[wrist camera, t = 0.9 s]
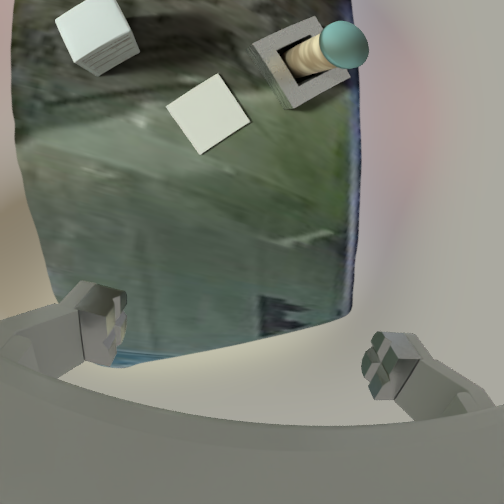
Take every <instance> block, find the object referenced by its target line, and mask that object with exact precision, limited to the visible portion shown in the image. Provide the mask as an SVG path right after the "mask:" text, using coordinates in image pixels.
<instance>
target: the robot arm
mask: <svg viewBox="0 0 504 504" xmlns="http://www.w3.org/2000/svg"><path fill="white" fill-rule="evenodd" d="M126 305H127V294H126V291H123V290H119V289H115V288H111V287H107V286H103V285H100V284H96V283H92V282H88V281H80V282H79V283H78V284H77V285H76V286H75V287H74V288H73V289H72V290H71V291H70V293H69V294H68V295H67V296H66V297H65V298H64V299H63V300H62V301H61V302H60V303H59V304H55V303H54V304H51V305H48V306H45V307H41V308H38V309H35V310H32V311H28V312H26V313H22V314H19V315H16V316H13V317H10V318H6V319H3V320H0V504H504V405H500V406H497V407H496V406H495V404H494V403H493V402H492V400H491V399H490V397H489V396H488V395H487V393H486V392H485V390H484V389H483V388H481V387H480V386H478V385H476V384H475V383H473V382H472V381H470V380H469V379H467V378H465V377H464V376H462V375H461V374H459V373H457V372H456V371H454V370H453V369H451V368H449V367H448V366H446V365H445V364H443V363H441V362H440V361H438V360H434V359H433V358H432V356H431V355H430V354H429V352H428V351H427V349H426V348H425V347H424V345H423V344H422V343H421V341H420V340H419V338H418V337H417V336H416V335H415V334H413V333H393V332H376V333H375V335H374V336H373V338H372V340H371V344H372V347H371V348H370V349H369V350H367V351H366V352H365V355H364V357H363V359H362V365H361V367H362V373H363V376H364V378H366V379H367V380H368V381H369V382H370V383H369V385H368V387H369V390H370V392H371V394H372V396H373V399H374V400H394V401H395V402H396V403H397V404H398V405H399V406H400V407H401V408H402V409H403V410H404V411H405V412H406V413H407V414H408V415H409V416H410V417H411V418H412V419H413V420H414V421H412V422H403V423H392V424H377V425H357V426H298V425H279V424H265V423H253V422H243V421H233V420H226V419H218V418H211V417H204V416H198V415H191V414H186V413H181V412H176V411H170V410H165V409H160V408H156V407H152V406H147V405H143V404H139V403H134V402H130V401H127V400H123V399H119V398H116V397H112V396H108V395H105V394H101V393H98V392H95V391H92V390H88V389H85V388H82V387H79V386H76V385H73V384H70V383H67V382H64V381H62V380H59V379H57V378H59V377H60V376H62V375H63V374H65V373H67V372H68V371H70V370H72V369H73V368H75V367H76V366H78V365H80V364H81V363H83V362H84V360H85V361H89V362H93V363H97V364H100V365H104V366H108V367H110V365H111V363H112V361H113V359H114V357H115V355H116V353H117V350H116V346H118V345H120V344H121V343H122V341H123V339H124V336H125V332H126V326H127V315H126V314H125V312H124V311H123V310H124V308H125V306H126Z"/></svg>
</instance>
